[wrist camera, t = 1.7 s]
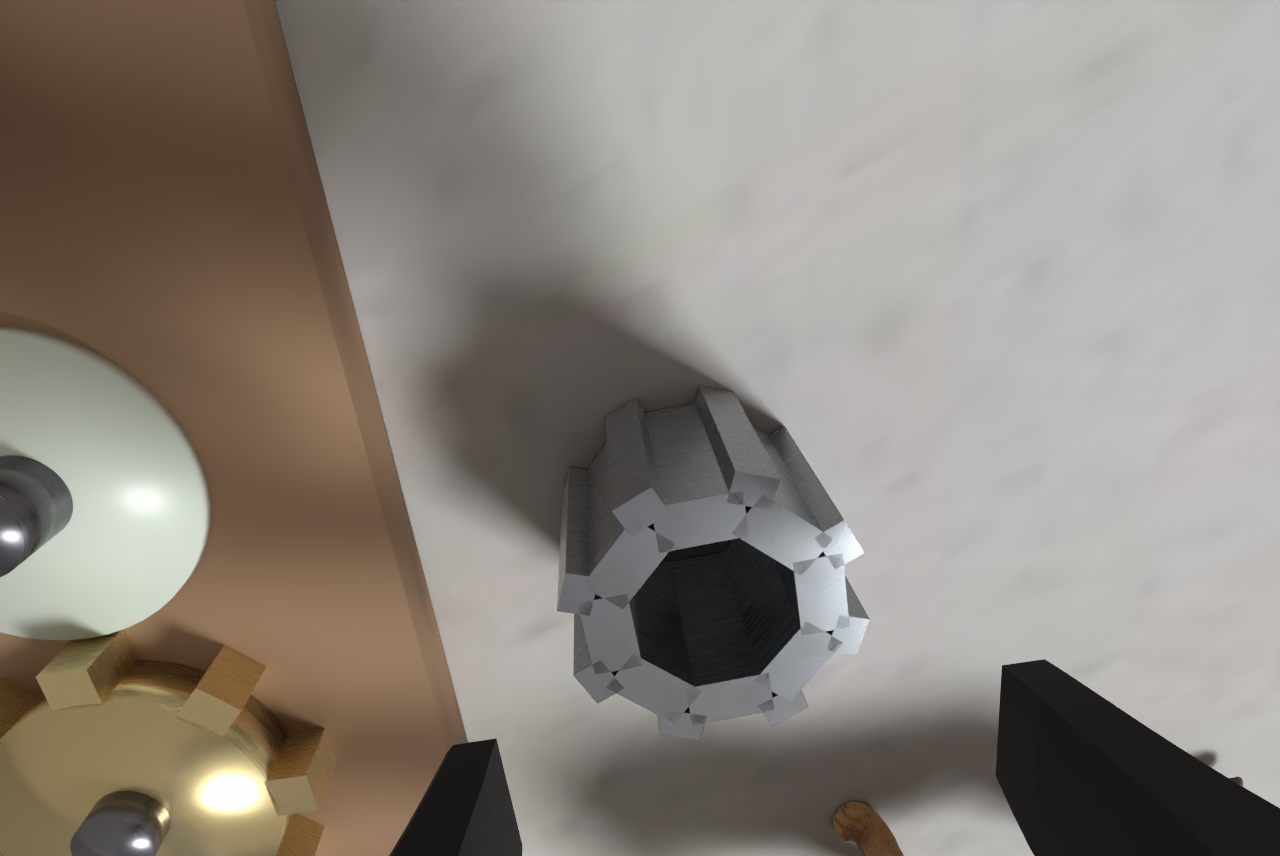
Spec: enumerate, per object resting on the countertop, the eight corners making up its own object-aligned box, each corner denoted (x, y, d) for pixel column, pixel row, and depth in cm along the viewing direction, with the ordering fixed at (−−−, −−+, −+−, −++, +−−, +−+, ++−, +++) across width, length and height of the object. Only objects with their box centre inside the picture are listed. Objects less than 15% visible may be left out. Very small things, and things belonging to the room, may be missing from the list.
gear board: (491, 834, 22) (475, 971, 19) (18, 904, 22) (-89, 1056, 18) (232, -163, 14) (108, -256, 10) (-553, -64, 13) (-957, -124, 10)
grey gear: (710, 639, 20) (743, 777, 16) (520, 533, 19) (502, 655, 15) (852, 471, 19) (930, 575, 15) (658, 341, 17) (682, 416, 13)
